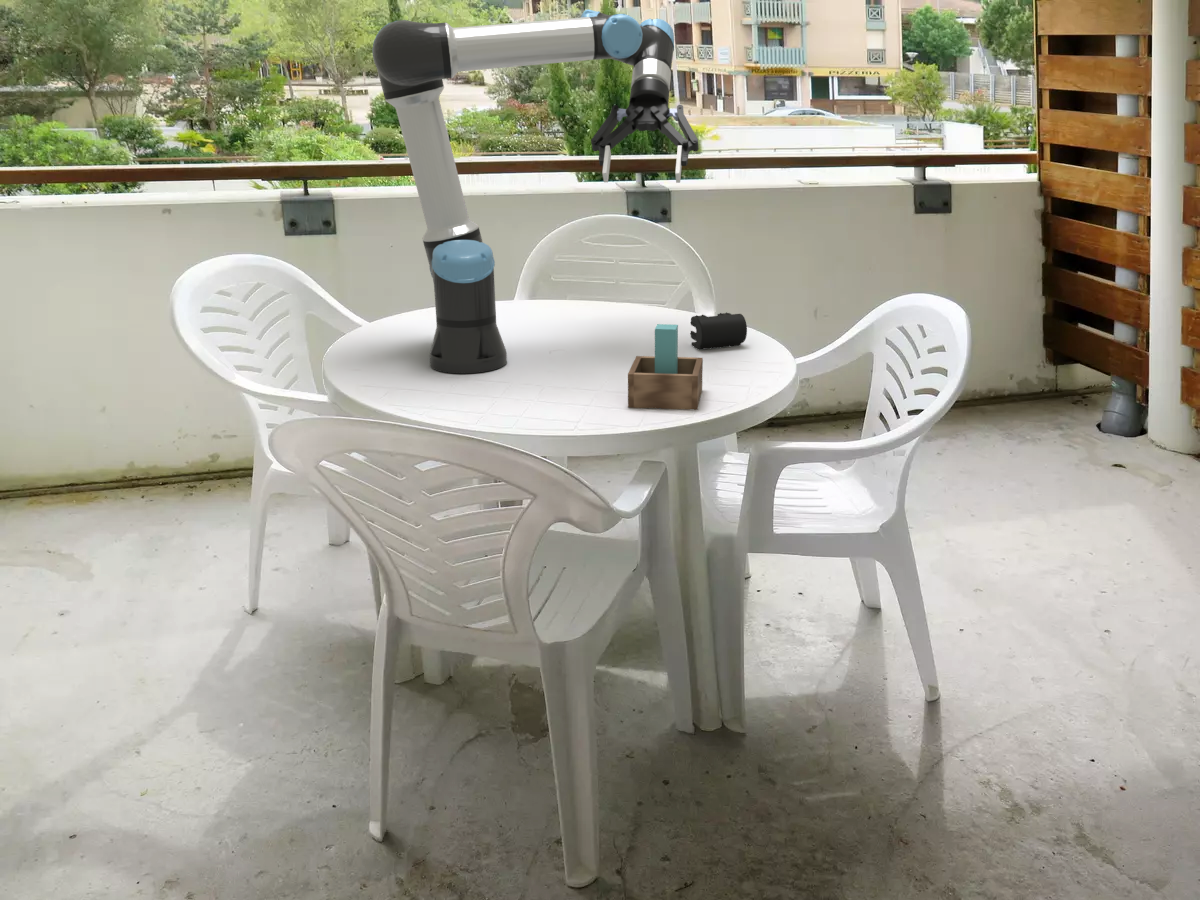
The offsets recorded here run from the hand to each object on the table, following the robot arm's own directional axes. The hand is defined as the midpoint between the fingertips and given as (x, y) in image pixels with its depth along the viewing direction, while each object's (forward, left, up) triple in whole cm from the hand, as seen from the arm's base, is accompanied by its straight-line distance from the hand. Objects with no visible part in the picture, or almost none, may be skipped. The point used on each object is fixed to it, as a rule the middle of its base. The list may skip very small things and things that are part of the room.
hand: (641, 178), depth 218 cm
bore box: (+7, -23, -36) cm, 43 cm away
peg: (+7, -23, -36) cm, 43 cm away
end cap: (+14, +14, -36) cm, 41 cm away
